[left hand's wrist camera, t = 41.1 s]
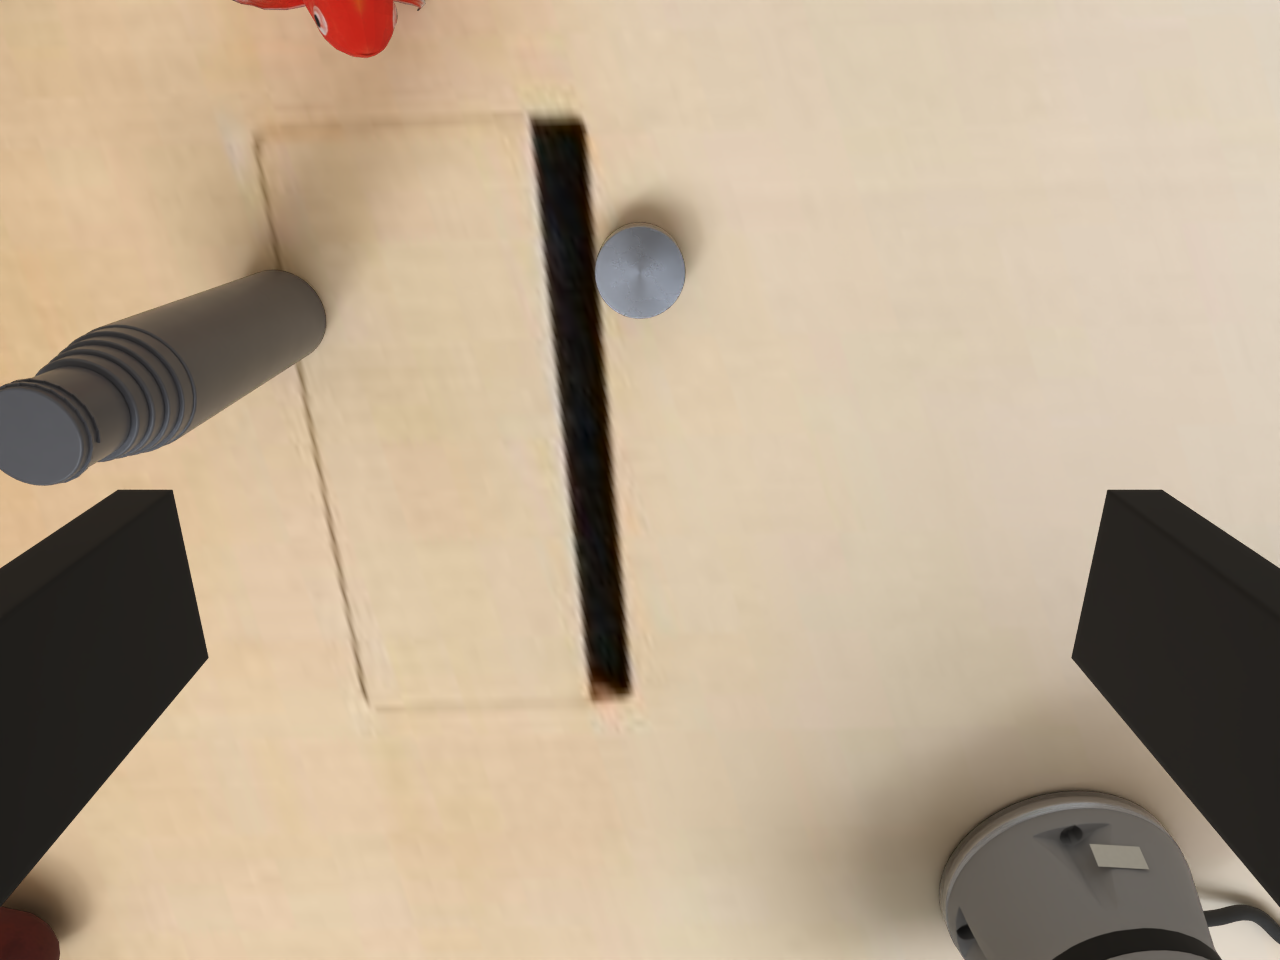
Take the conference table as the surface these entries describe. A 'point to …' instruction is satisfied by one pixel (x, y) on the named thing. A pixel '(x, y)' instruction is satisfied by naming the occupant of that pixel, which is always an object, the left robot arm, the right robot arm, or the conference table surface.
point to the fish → (347, 21)
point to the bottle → (155, 376)
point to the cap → (640, 270)
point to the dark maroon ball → (26, 937)
